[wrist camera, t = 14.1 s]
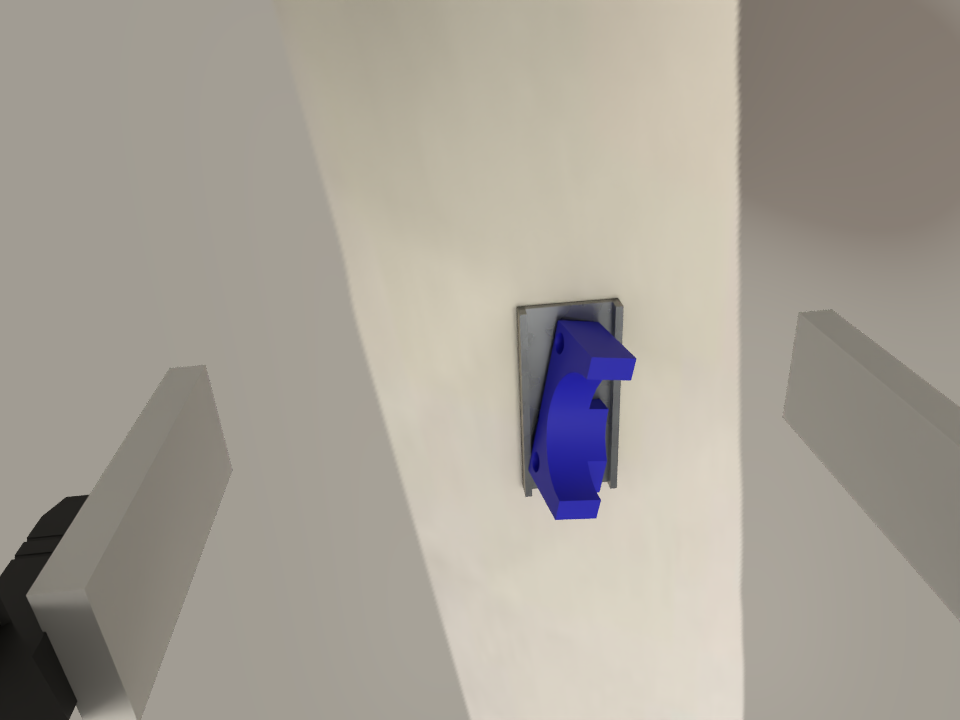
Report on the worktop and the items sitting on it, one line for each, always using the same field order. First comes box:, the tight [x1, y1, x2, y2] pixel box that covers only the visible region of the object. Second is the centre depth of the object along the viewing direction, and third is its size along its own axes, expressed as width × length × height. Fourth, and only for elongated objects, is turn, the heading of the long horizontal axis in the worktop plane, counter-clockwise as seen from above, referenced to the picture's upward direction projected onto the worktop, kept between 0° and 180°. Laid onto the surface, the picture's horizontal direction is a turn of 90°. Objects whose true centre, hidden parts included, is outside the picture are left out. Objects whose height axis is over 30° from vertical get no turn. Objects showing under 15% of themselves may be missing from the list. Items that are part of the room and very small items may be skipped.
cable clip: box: [528, 320, 636, 520], centre depth 50 cm, size 12×4×6 cm, turn 172°
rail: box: [517, 298, 623, 497], centre depth 53 cm, size 15×7×1 cm, turn 3°
